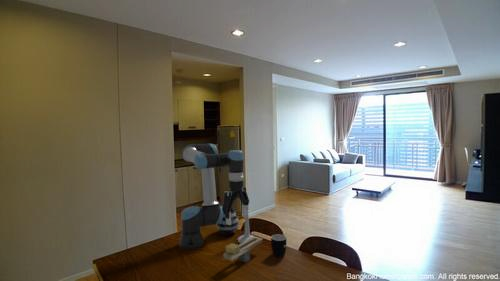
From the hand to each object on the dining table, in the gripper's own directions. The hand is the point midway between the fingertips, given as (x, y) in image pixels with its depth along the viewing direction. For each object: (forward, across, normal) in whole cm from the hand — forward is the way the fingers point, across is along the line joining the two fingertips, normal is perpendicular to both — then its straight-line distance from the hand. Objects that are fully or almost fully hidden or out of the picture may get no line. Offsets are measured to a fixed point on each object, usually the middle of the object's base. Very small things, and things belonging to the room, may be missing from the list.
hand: (236, 220), depth 135 cm
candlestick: (+26, +32, +16) cm, 44 cm away
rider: (+19, 0, +3) cm, 19 cm away
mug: (+26, +27, -11) cm, 38 cm away
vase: (+26, +35, +35) cm, 56 cm away
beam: (+25, +9, +2) cm, 27 cm away
